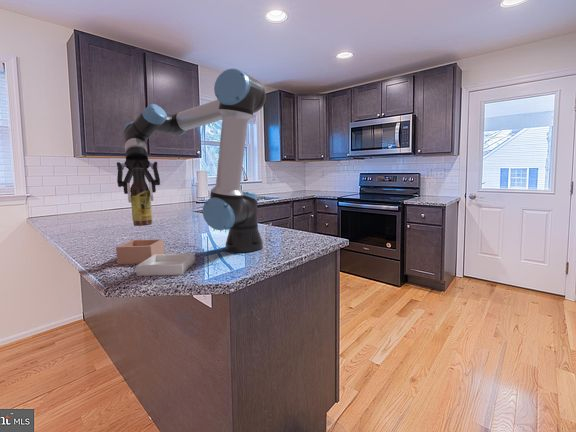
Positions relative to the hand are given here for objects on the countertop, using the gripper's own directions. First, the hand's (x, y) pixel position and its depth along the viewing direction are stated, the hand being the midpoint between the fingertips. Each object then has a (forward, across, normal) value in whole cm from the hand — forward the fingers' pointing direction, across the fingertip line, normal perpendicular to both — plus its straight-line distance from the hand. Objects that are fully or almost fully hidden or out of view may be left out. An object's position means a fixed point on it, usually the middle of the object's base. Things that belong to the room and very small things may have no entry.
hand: (140, 199), depth 106 cm
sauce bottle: (+4, 0, -9) cm, 10 cm away
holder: (+10, +2, -22) cm, 24 cm away
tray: (+23, -6, -9) cm, 25 cm away
